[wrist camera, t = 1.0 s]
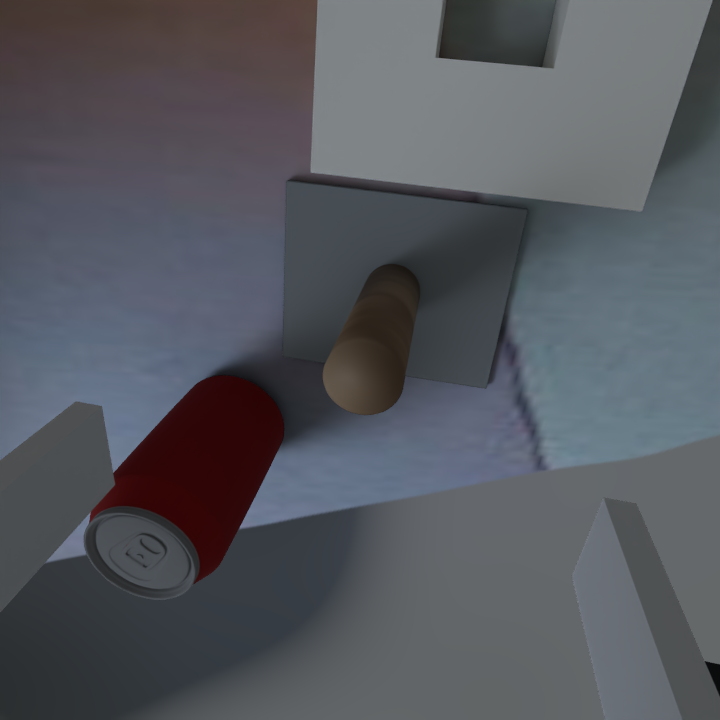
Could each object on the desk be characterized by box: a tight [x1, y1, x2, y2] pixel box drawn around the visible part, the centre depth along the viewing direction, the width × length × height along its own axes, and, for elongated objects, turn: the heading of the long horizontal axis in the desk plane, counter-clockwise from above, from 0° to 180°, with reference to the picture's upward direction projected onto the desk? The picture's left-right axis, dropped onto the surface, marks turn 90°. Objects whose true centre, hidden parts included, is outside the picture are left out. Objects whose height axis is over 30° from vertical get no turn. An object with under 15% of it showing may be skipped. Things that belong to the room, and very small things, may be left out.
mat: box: [283, 180, 528, 389], centre depth 28 cm, size 12×10×1 cm
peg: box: [323, 264, 420, 415], centre depth 23 cm, size 3×3×10 cm
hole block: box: [311, 0, 713, 212], centre depth 20 cm, size 14×14×4 cm
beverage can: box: [84, 375, 284, 600], centre depth 28 cm, size 7×7×12 cm
